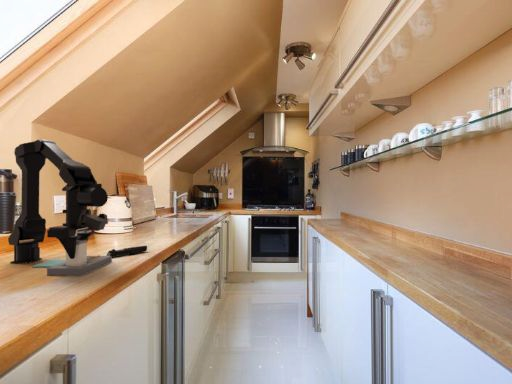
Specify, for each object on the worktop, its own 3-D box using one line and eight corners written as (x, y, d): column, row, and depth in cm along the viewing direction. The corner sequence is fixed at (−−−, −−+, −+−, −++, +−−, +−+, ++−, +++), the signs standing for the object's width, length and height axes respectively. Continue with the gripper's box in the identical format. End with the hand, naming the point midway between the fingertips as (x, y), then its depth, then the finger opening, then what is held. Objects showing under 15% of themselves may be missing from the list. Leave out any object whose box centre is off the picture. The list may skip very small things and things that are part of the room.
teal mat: (32, 267, 100) (32, 265, 100) (53, 260, 110) (53, 259, 110) (63, 267, 99) (63, 266, 99) (81, 260, 109) (81, 259, 109)
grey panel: (46, 275, 90) (46, 266, 90) (82, 261, 108) (82, 254, 108) (81, 275, 90) (81, 267, 90) (111, 261, 108) (111, 254, 108)
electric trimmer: (149, 253, 125) (149, 245, 125) (109, 259, 113) (110, 250, 113) (144, 252, 127) (144, 244, 127) (105, 257, 116) (105, 249, 116)
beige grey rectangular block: (65, 272, 94) (65, 241, 94) (73, 268, 98) (74, 239, 98) (79, 272, 94) (79, 242, 94) (86, 268, 98) (87, 239, 98)
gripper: (85, 207, 87) (85, 264, 87) (117, 205, 105) (116, 251, 105) (45, 207, 87) (45, 264, 87) (84, 204, 106) (84, 251, 106)
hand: (76, 257), depth 96 cm, fingers closed on beige grey rectangular block, 4 cm apart
